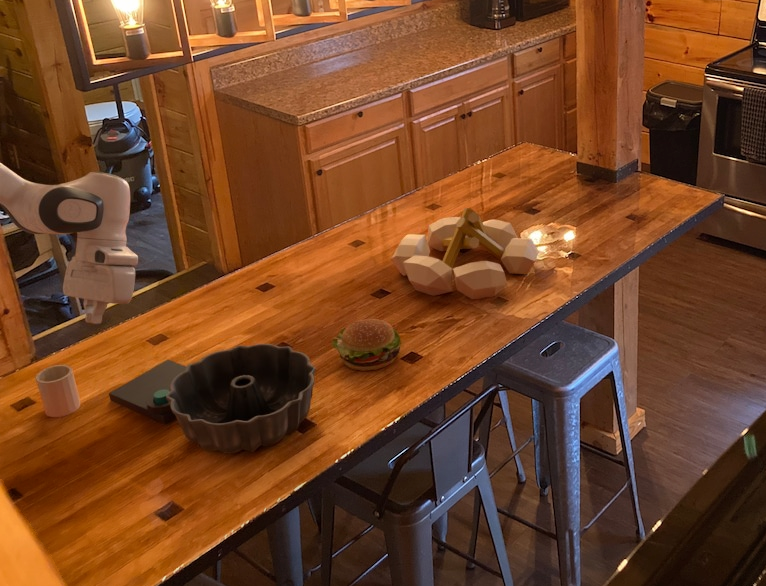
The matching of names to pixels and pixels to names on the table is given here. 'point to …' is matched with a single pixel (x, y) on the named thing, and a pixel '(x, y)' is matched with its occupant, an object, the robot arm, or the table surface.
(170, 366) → the scale
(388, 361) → the food
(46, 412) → the white cup
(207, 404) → the bundt pan
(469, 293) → the campfire
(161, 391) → the button
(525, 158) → the table surface
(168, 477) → the table surface
